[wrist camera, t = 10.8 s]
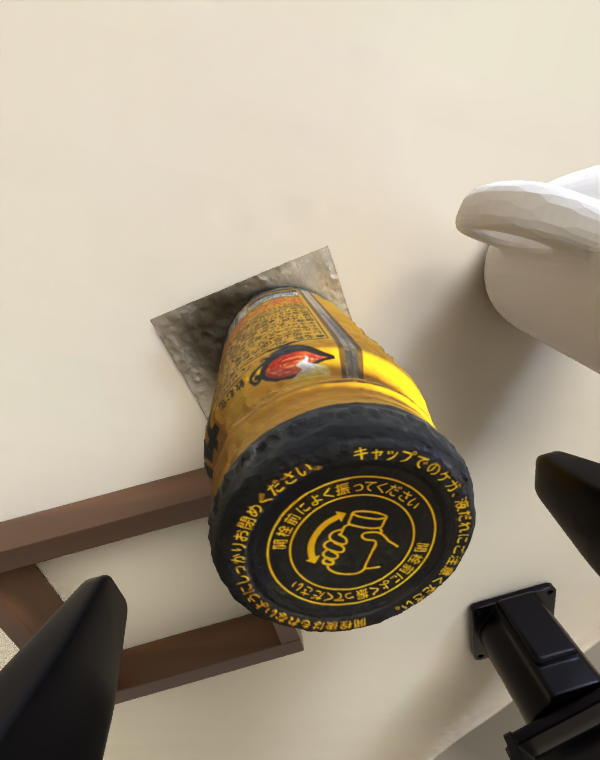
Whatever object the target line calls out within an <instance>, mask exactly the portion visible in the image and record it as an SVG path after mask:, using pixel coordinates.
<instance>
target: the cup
mask: <svg viewBox="0 0 600 760" xmlns="http://www.w3.org/2000/svg"><path fill="white" fill-rule="evenodd" d="M456 227H457V229H458V230H459V231H460V232H461V233H463V234H464V235H466V236H469V237H471V238H473V239H476V240H478V241H481V242H483V243H486V244H489V248H488V251H487V255H486V260H485V268H484V278H485V285H486V290H487V293H488V296H489V299H490V301H491V303H492V304H493V306H494V307H495V309H496V310H497V311H498V313H499V314H500V315H501V316H502V317H503V318H504V319H505V320H507V321H508V322H509V323H510V324H512V325H513V326H515V327H516V328H518V329H520V330H521V331H523V332H525V333H526V334H528V335H530V336H532V337H534V338H536V339H537V340H539V341H541V342H543V343H545V344H546V345H548V346H550V347H552V348H554V349H555V350H557V351H559V352H561V353H563V354H565V355H566V356H568V357H570V358H572V359H574V360H575V361H577V362H579V363H581V364H583V365H585V366H586V367H588V368H590V369H592V370H594V371H595V372H597V373H599V374H600V165H597V166H594V167H591V168H587V169H584V170H581V171H578V172H574V173H571V174H568V175H566V176H563V177H560V178H558V179H555V180H553V181H551V182H549V183H546V184H545V183H538V182H530V181H503V182H496V183H490V184H487V185H483V186H480V187H478V188H476V189H474V190H473V191H471V192H470V193H469V194H468V195H467V196H466V197H465V199H464V200H463V202H462V205H461V207H460V209H459V211H458V214H457V217H456Z"/></svg>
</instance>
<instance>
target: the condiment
mask: <svg viewBox="0 0 600 760" xmlns="http://www.w3.org/2000/svg"><path fill="white" fill-rule="evenodd" d="M150 321H151V323H152V324H153V326H154V328H155V329H156V331H157V333H158V334H159V336H160V337H161V339H162V340H163V342H164V344H165V345H166V347H167V349H168V350H169V352H170V354H171V355H172V357H173V359H174V361H175V362H176V364H177V366H178V368H179V369H180V371H181V372H182V374H183V376H184V377H185V379H186V381H187V383H188V385H189V386H190V388H191V390H192V392H193V393H194V395H195V396H196V397H197V400H198V402H199V404H200V406H201V408H202V409H203V411H204V413H205V415H206V417H207V418H208V423H207V426H206V432H205V439H204V459H205V463H204V465H205V468H206V472H207V476H208V479H209V482H210V484H211V486H212V501H213V504H212V506H211V508H210V512H209V519H208V524H209V526H210V528H209V534H208V539H209V541H210V546H211V555H212V559H213V563H214V565H215V567H216V570H217V572H218V574H219V576H220V579H221V580H222V582H223V583H224V584H225V585H226V586H227V587H228V589H229V592H230V593H231V595H232V596H233V598H234V599H235V600H236V601H238V602H239V603H240V604H242V605H243V606H244V607H245V608H247V609H248V610H249V611H251V613H252V614H253V615H254V616H257V617H259V618H261V619H264V620H268V621H271V622H274V623H277V624H279V625H283V626H287V627H291V628H297V629H303V630H305V631H318V632H324V631H330V632H336V631H346V630H352V629H356V628H362V627H366V626H369V625H373V624H378V623H381V622H382V621H384V620H386V619H388V618H390V617H392V616H395V615H398V614H400V613H402V612H403V611H405V610H407V609H408V608H410V607H411V606H413V605H415V604H417V603H419V602H420V601H421V600H422V599H424V598H426V597H427V596H429V595H430V594H431V593H432V592H434V591H435V590H436V588H437V587H438V586H440V585H442V583H443V582H444V581H445V580H447V578H448V577H449V576H450V575H451V574H452V573H453V572H454V571H455V569H456V567H457V566H458V564H459V562H460V561H461V559H462V557H463V555H464V553H465V551H466V550H467V548H468V545H469V543H470V541H471V538H472V534H473V531H474V527H475V516H476V512H475V507H474V493H473V484H472V480H471V477H470V473H469V471H468V468H467V466H466V464H465V461H464V460H463V458H462V457H461V456H460V455H459V454H458V452H457V451H456V449H455V447H454V446H453V445H452V444H451V443H449V441H448V440H447V439H446V438H445V437H444V436H443V435H441V434H440V433H439V432H438V430H437V429H436V427H435V425H434V424H433V422H432V421H431V416H430V414H429V413H428V410H427V406H426V403H425V400H424V399H423V397H422V395H421V393H420V391H419V389H418V387H417V386H416V384H415V383H414V381H413V379H412V378H411V377H410V376H409V375H408V374H407V373H406V372H405V371H404V370H403V369H402V368H401V367H400V366H399V365H398V364H397V363H396V362H395V361H394V359H393V358H392V357H391V356H389V355H388V354H386V353H385V352H384V350H383V348H382V347H380V346H379V345H378V344H377V343H376V342H375V341H373V340H371V339H369V338H368V337H367V336H366V335H365V333H364V331H363V330H362V329H360V328H358V327H357V326H356V324H355V323H354V322H353V321H352V319H351V316H350V313H349V310H348V307H347V304H346V301H345V298H344V295H343V291H342V288H341V284H340V282H339V278H338V275H337V272H336V269H335V266H334V263H333V260H332V257H331V253H330V251H329V248H328V246H326V247H324V248H321V249H319V250H316V251H314V252H311V253H309V254H307V255H304V256H302V257H299V258H297V259H294V260H292V261H289V262H287V263H285V264H283V265H280V266H278V267H275V268H273V269H270V270H268V271H265V272H263V273H261V274H258V275H256V276H254V277H251V278H249V279H246V280H244V281H242V282H239V283H236V284H234V285H232V286H230V287H228V288H225V289H223V290H221V291H219V292H216V293H213V294H211V295H208V296H206V297H203V298H201V299H199V300H196V301H194V302H191V303H189V304H187V305H184V306H182V307H180V308H178V309H175V310H173V311H171V312H168V313H166V314H163V315H161V316H158V317H156V318H154V319H151V320H150Z"/></svg>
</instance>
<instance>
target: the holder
mask: <svg viewBox="0 0 600 760" xmlns="http://www.w3.org/2000/svg"><path fill="white" fill-rule="evenodd" d="M212 504H213V501H212V486H211V484H210V482H209V479H208V476H207V472H206V468H201V469H197V470H194V471H190V472H186V473H183V474H179V475H175V476H171V477H168V478H164V479H160V480H156V481H153V482H149V483H145V484H142V485H138V486H134V487H130V488H127V489H123V490H119V491H116V492H112V493H108V494H104V495H101V496H97V497H93V498H89V499H86V500H82V501H78V502H75V503H71V504H67V505H63V506H60V507H56V508H52V509H49V510H45V511H41V512H37V513H34V514H30V515H26V516H22V517H19V518H15V519H11V520H8V521H4V522H0V628H1V629H2V630H3V631H4V632H5V633H6V635H7V636H8V637H9V638H10V639H11V640H12V641H13V642H14V643H15V645H16V646H17V647H18V648H19V649H20V650H21V648H22V647H23V646H24V645H25V644H26V643H27V642H28V641H29V640H30V639H31V638H32V637H33V636H34V635H35V634H36V632H37V631H38V630H39V629H40V628H41V627H42V626H43V625H44V624H45V623H46V622H47V621H48V620H49V619H50V617H51V616H52V615H53V614H54V613H55V612H56V611H57V610H58V609H59V608H60V607H61V606H62V605H63V604H64V603H63V601H62V600H61V599H60V597H59V596H58V595H57V593H56V592H55V591H54V589H53V588H52V587H51V585H50V584H49V583H48V581H47V580H46V579H45V577H44V576H43V575H42V573H41V572H40V571H39V570H38V568H37V567H36V566H35V563H38V562H42V561H46V560H49V559H53V558H57V557H60V556H64V555H68V554H71V553H75V552H79V551H82V550H86V549H90V548H93V547H97V546H101V545H104V544H108V543H112V542H115V541H119V540H123V539H126V538H130V537H134V536H137V535H141V534H145V533H148V532H152V531H156V530H159V529H163V528H167V527H170V526H174V525H178V524H181V523H185V522H189V521H192V520H196V519H200V518H203V517H207V516H209V512H210V508H211V506H212ZM303 650H304V646H303V638H302V631H301V629H297V628H291V627H287V626H283V625H279V624H277V623H274V622H271V621H268V620H264V619H261V618H259V617H257V616H254V615H253V614H250V615H246V616H243V617H239V618H236V619H232V620H229V621H225V622H221V623H218V624H214V625H211V626H207V627H204V628H200V629H197V630H193V631H189V632H186V633H182V634H179V635H175V636H172V637H168V638H165V639H161V640H157V641H154V642H150V643H147V644H143V645H140V646H136V647H133V648H129V649H126V650H122V657H121V665H120V672H119V680H118V687H117V693H116V700H115V704H118V703H122V702H125V701H129V700H132V699H136V698H139V697H143V696H146V695H150V694H153V693H157V692H160V691H164V690H167V689H171V688H174V687H178V686H181V685H185V684H188V683H192V682H195V681H199V680H202V679H206V678H209V677H213V676H216V675H220V674H223V673H227V672H230V671H234V670H237V669H241V668H244V667H248V666H251V665H255V664H258V663H262V662H265V661H269V660H272V659H276V658H279V657H283V656H286V655H290V654H293V653H297V652H300V651H303Z"/></svg>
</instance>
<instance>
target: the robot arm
mask: <svg viewBox="0 0 600 760" xmlns="http://www.w3.org/2000/svg"><path fill="white" fill-rule="evenodd" d="M535 490H536V493H537V495H538V497H539V498H540V500H541V501H542V502H543V504H544V505H545V506H546V508H547V509H548V510H549V512H550V513H551V514H552V516H553V517H554V518H555V520H556V521H557V522H558V524H559V525H560V527H561V528H562V529H563V531H564V532H565V533H566V535H567V536H568V537H569V539H570V540H571V541H572V543H573V544H574V545H575V547H576V548H577V549H578V551H579V552H580V553H581V555H582V556H583V557H584V558H585V560H586V561H587V562H588V563H589V565H590V566H591V567H592V568H593V569H594V571H595V572H596V573H597V574H598V575H599V576H600V463H597V462H593V461H590V460H587V459H584V458H580V457H577V456H574V455H571V454H568V453H564V452H561V451H554V452H551V453H547V454H543V455H540V456H539V457H538V458H537V460H536V470H535ZM555 597H556V589H555V587H554V586H553V585H552V584H551V583H544V584H541V585H537V586H534V587H530V588H527V589H523V590H520V591H516V592H513V593H509V594H506V595H502V596H499V597H495V598H492V599H488V600H485V601H481V602H478V603H475V604H473V605H471V607H470V609H469V610H470V629H471V647H472V654H473V656H474V658H475V659H476V660H482V659H485V658H490V660H491V661H492V663H493V665H494V667H495V669H496V670H497V672H498V674H499V676H500V677H501V679H502V681H503V683H504V685H505V686H506V688H507V690H508V692H509V694H510V695H511V697H512V699H513V701H514V703H515V704H516V706H517V708H518V710H519V711H520V713H521V715H522V717H523V718H524V720H525V722H526V724H527V725H526V726H524V727H522V728H520V729H518V730H516V731H514V732H511V731H510V732H508V733H506V734H504V735H503V736H504V739H505V741H506V743H507V747H506V749H505V750H506V752H507V754H508V756H509V758H510V760H600V674H599V673H598V671H597V670H596V669H595V668H594V666H593V665H592V664H591V662H590V661H589V660H588V659H587V657H586V656H585V655H584V654H583V652H582V651H581V650H580V648H579V647H578V646H577V645H576V643H575V642H574V641H573V640H572V638H571V637H570V636H569V634H568V633H567V632H566V631H565V629H564V628H563V627H562V626H561V624H560V623H559V622H558V621H557V619H556V618H555V617H554V607H555ZM126 620H127V603H126V600H125V598H124V596H123V595H122V593H121V592H120V590H119V589H118V587H117V586H116V584H115V583H114V581H113V579H112V578H111V577H110V576H108V575H102V576H99V577H95V578H91V579H88V580H86V581H85V582H84V583H82V584H81V585H80V587H79V588H78V589H77V590H76V591H75V592H74V593H73V594H72V595H71V596H70V597H69V598H68V599H67V600H66V601H65V603H64V604H63V605H62V606H61V607H60V608H59V609H58V610H57V611H56V612H55V613H54V614H53V615H52V616H51V617H50V619H49V620H48V621H47V622H46V623H45V624H44V625H43V626H42V627H41V628H40V629H39V630H38V631H37V632H36V634H35V635H34V636H33V637H32V638H31V639H30V640H29V641H28V642H27V643H26V644H25V645H24V646H23V647H22V648H21V650H20V651H19V652H18V653H17V654H16V655H15V656H14V657H13V658H12V659H11V660H10V661H9V662H8V663H7V664H6V666H5V667H4V668H3V669H2V670H1V671H0V760H103V756H104V751H105V747H106V742H107V738H108V733H109V729H110V724H111V720H112V715H113V710H114V705H115V700H116V693H117V687H118V680H119V672H120V665H121V657H122V650H123V642H124V635H125V627H126Z"/></svg>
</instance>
